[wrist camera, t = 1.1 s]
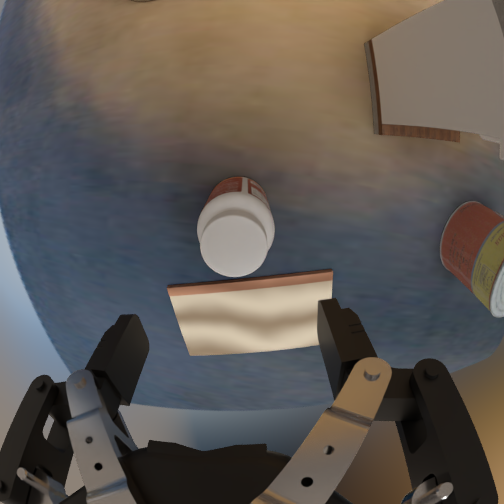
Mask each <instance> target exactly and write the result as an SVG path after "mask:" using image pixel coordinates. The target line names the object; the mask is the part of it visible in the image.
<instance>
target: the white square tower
mask: <svg viewBox="0 0 504 504" xmlns="http://www.w3.org/2000/svg"><path fill="white" fill-rule="evenodd" d="M364 46H365V52H366V58H367V65H368V72H369V80H370V88H371V98H372V109H373V123H374V134H379V135H394V136H408V137H420V138H430V139H438V140H446V141H454V142H460V131H463V132H469V133H475V134H479V135H480V137H481V138H482V139H483V140H488V141H492V142H496V143H500V159H502V160H504V0H444V1H442V2H440V3H438V4H436V5H433V6H431V7H429V8H427V9H425V10H423V11H421V12H419V13H417V14H415V15H413V16H411V17H409V18H407V19H406V20H404V21H402V22H400V23H398V24H396V25H395V26H393V27H391V28H389V29H388V30H386V31H384V32H383V33H381V34H379V35H378V36H376V37H374V38H373V39H371V40H369V41H368V42H366V43H364Z"/></svg>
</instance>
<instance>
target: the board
mask: <svg viewBox="0 0 504 504" xmlns="http://www.w3.org/2000/svg"><path fill="white" fill-rule="evenodd" d="M332 280H333V271H332V269H327V270H318V271H310V272H301V273H292V274H283V275H273V276H264V277H254V278H244V279H234V280H223V281H212V282H201V283H189V284H177V285H168V287H167V290H168V293H169V296H170V299H171V302H172V305H173V308H174V311H175V314H176V317H177V320H178V323H179V326H180V329H181V332H182V335H183V337H184V340H185V343H186V346H187V348H188V351H189V354H190V356H195V355H221V354H238V353H251V352H263V351H273V350H283V349H291V348H299V347H307V346H314V345H319V341H318V335H317V314H318V301H319V300H324V299H331V297H332Z"/></svg>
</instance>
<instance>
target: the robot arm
mask: <svg viewBox="0 0 504 504" xmlns="http://www.w3.org/2000/svg"><path fill="white" fill-rule="evenodd" d="M133 1H139V2H143V1H151V0H133ZM317 335H318V341H319V345H320V348H321V352H322V356H323V359H324V363H325V367H326V370H327V374H328V378H329V382H330V385H331V389H332V393H333V397H334V403H333V405H332V406H331V408H327V409H326V410H325V411H324V413H323V414H322V416H321V417H320V419H319V420H318V422H317V423H316V425H315V426H314V428H313V429H312V431H311V432H310V434H309V435H308V436H307V438H306V439H305V441H304V442H303V444H302V445H301V446H300V448H299V449H298V450H297V452H296V453H295V455H294V456H293V457H290V456H287V455H284V454H281V453H277V452H273V451H267V446H266V444H253V445H234V446H229V447H224V448H219V449H214V450H210V451H200V450H196V449H193V448H189V447H186V446H183V445H180V444H177V443H170V442H161V441H153V440H149V443H148V447H145V448H141V449H138V447H137V446H136V445H135V443H134V441H133V439H132V437H131V435H130V433H129V431H128V428H127V426H126V424H125V422H124V420H123V417H122V415H121V413H120V411H119V410H118V408H119V405H126V406H130V403H131V400H132V397H133V394H134V391H135V388H136V385H137V382H138V380H139V377H140V374H141V371H142V368H143V366H144V363H145V360H146V358H147V355H148V352H149V341H148V338H147V336H146V333H145V331H144V329H143V326H142V324H141V321H140V319H139V317H138V316H137V315H136V314H128V315H120V316H119V318H118V320H117V322H116V323H115V325H112V326H111V327H110V328H109V329H108V330H107V331H106V332H105V333H104V335H103V337H102V338H101V342H99V344H98V346H97V348H96V349H95V351H94V353H93V355H92V356H91V358H90V360H89V362H88V364H87V366H86V367H85V369H81V370H77V371H75V372H74V373H72V374H71V375H70V376H69V377H68V379H67V381H66V382H61V383H54V381H53V380H52V379H51V377H49V376H48V375H41V376H39V377H37V378H36V379H35V380H34V381H33V382H32V383H31V385H30V387H29V389H28V391H27V393H26V394H25V396H24V398H23V401H22V402H21V404H20V407H19V409H18V411H17V413H16V415H15V417H14V419H13V422H12V424H11V426H10V428H9V431H8V433H7V435H6V438H5V441H4V443H3V445H2V448H1V451H0V502H2V503H4V504H353V503H351V502H350V501H348V500H347V499H346V498H344V497H343V496H342V495H340V494H339V493H338V492H336V491H335V488H336V487H337V485H338V483H339V482H340V480H341V479H342V477H343V476H344V474H345V472H346V470H347V469H348V467H349V466H350V464H351V462H352V460H353V458H354V457H355V455H356V453H357V451H358V449H359V447H360V445H361V444H362V442H363V440H364V438H365V436H366V434H367V432H368V430H369V428H370V426H371V424H372V421H373V420H375V421H395V423H396V426H397V429H398V433H399V437H400V440H401V444H402V447H403V452H404V455H405V459H406V463H407V467H408V472H409V476H410V480H411V485H412V491H410V492H409V493H408V494H407V495H406V496H405V497H404V498H403V500H402V502H401V504H498V494H497V491H496V487H495V483H494V480H493V476H492V473H491V470H490V467H489V464H488V461H487V458H486V456H485V452H484V450H483V447H482V444H481V442H480V439H479V437H478V434H477V432H476V429H475V427H474V424H473V422H472V420H471V418H470V415H469V413H468V411H467V409H466V406H465V404H464V402H463V400H462V398H461V396H460V394H459V392H458V390H457V388H456V386H455V384H454V382H453V380H452V378H451V376H450V374H449V372H448V370H447V368H446V367H445V365H444V364H443V363H441V362H440V361H438V360H436V359H430V358H429V359H423V360H421V361H419V362H418V363H417V364H416V365H415V367H414V369H398V368H392V367H390V366H389V364H388V363H387V362H385V361H384V360H382V359H380V358H378V357H377V355H376V352H375V350H374V348H373V346H372V344H371V342H370V340H369V338H368V336H367V334H366V332H365V329H364V327H363V325H361V321H360V319H359V317H358V315H357V314H356V313H355V312H353V311H352V310H351V309H350V308H345V309H341V308H340V305H339V303H338V301H337V299H336V298H331V299H324V300H319V301H318V314H317ZM48 415H50V416H51V417H52V418H53V419H54V423H53V425H52V428H51V430H50V433H49V436H48V438H47V440H46V439H45V438H44V436H43V427H44V425H45V422H46V420H47V418H48ZM73 453H74V454H75V458H76V461H77V464H78V467H79V470H80V473H81V476H82V479H83V482H84V486H83V487H82V488H80V489H79V490H77V491H76V492H75V493H73V494H72V495H71V496H68V495H66V493H65V489H64V487H65V483H66V479H67V475H68V471H69V467H70V464H71V460H72V457H73Z"/></svg>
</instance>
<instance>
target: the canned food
mask: <svg viewBox="0 0 504 504" xmlns="http://www.w3.org/2000/svg"><path fill="white" fill-rule="evenodd" d="M440 258H441V261H442V263H443V265H444V267H445V268H446V269H447V270H449V271H450V272H452V273H453V274H454V275H455V276H456V277H457V278H458V279H459V280H460V281H461V282H462V283H463V284H464V285H465V286H466V287H467V288H468V289H469V290H470V291H471V292H472V293H473V294H474V295H475V296H476V297H477V298H478V299H479V300H480V301H481V302H482V303H483V304H484V305H485V306H486V307H487V308H488V309H489V310H490V311H491V314H492V315H493V316H494V317H497V318H500V317H503V316H504V216H502V215H500V214H499V213H497V212H495V211H493V210H491V209H489V208H487V207H485V206H483V205H482V204H481V203H479V202H477V201H468V202H465V203H463V204H462V205H460V206H459V207H458V208H457V209H456V210H455V211H454V212H453V213H452V214H451V216H450V217H449V219H448V221H447V223H446V225H445V227H444V230H443V232H442V236H441V240H440Z"/></svg>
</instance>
